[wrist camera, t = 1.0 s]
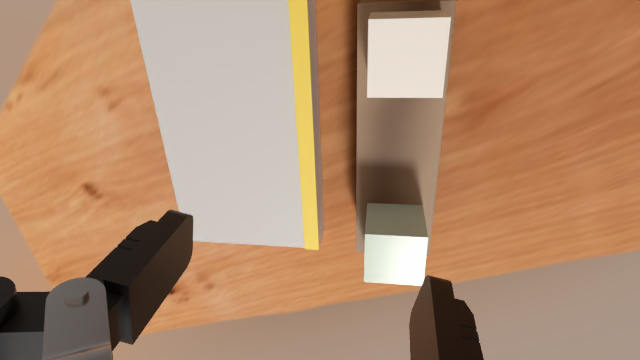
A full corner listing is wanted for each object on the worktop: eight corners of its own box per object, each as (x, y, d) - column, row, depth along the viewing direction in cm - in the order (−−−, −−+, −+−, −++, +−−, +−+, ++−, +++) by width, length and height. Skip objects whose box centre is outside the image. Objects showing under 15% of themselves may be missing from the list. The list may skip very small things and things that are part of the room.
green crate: (422, 205, 29) (428, 237, 25) (418, 250, 31) (423, 285, 27) (367, 202, 30) (364, 234, 26) (366, 247, 31) (364, 281, 28)
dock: (314, -16, 27) (306, -15, 25) (324, 228, 37) (318, 249, 34) (151, -10, 29) (126, -8, 26) (199, 222, 38) (184, 241, 35)
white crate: (440, 10, 23) (451, 17, 20) (434, 80, 25) (442, 97, 21) (370, 12, 24) (368, 19, 20) (369, 80, 25) (367, 97, 22)
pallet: (445, -4, 27) (456, 0, 23) (424, 223, 35) (428, 256, 31) (361, -2, 27) (357, 3, 24) (359, 220, 36) (356, 251, 32)
